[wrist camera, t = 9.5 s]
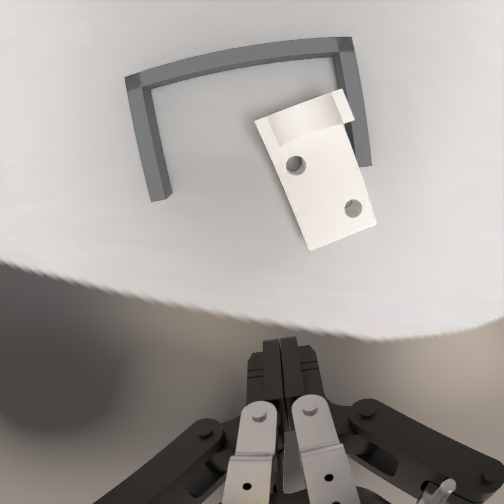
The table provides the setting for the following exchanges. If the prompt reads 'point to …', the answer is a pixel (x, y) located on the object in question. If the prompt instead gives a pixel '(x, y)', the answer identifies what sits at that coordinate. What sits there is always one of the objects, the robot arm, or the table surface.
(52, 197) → the table surface
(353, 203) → the bracket
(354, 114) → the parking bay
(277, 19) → the table surface
